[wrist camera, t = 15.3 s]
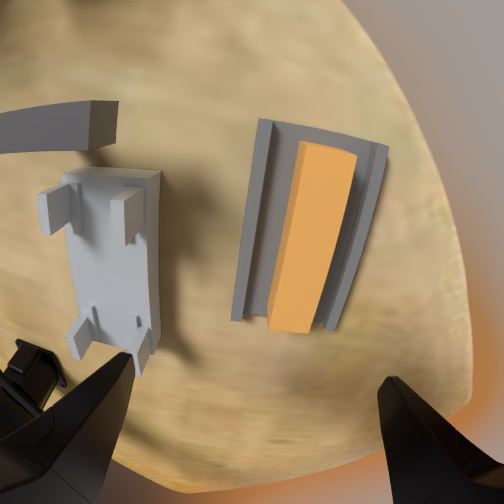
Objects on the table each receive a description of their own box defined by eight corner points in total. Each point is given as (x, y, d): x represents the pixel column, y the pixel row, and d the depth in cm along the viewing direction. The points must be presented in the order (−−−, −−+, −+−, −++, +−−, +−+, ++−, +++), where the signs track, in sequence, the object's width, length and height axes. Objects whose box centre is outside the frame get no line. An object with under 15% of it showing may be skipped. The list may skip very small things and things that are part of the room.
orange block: (303, 309, 22) (308, 333, 20) (267, 305, 22) (268, 329, 19) (343, 149, 17) (357, 155, 14) (299, 140, 17) (306, 144, 14)
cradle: (161, 335, 24) (144, 381, 19) (97, 321, 24) (72, 361, 19) (161, 170, 18) (127, 191, 13) (80, 166, 18) (34, 185, 13)
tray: (330, 319, 23) (334, 330, 22) (232, 309, 23) (230, 320, 21) (380, 144, 17) (389, 146, 16) (258, 118, 17) (258, 118, 15)
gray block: (153, 134, 17) (88, 150, 10) (64, 134, 16) (-16, 155, 9) (157, 103, 16) (91, 100, 9) (66, 107, 16) (-15, 117, 8)
